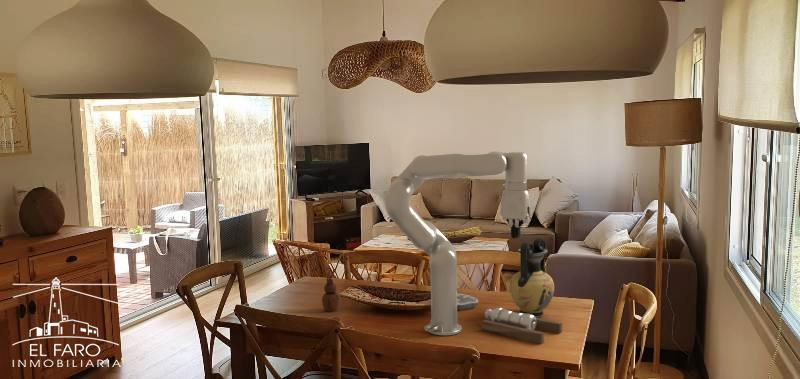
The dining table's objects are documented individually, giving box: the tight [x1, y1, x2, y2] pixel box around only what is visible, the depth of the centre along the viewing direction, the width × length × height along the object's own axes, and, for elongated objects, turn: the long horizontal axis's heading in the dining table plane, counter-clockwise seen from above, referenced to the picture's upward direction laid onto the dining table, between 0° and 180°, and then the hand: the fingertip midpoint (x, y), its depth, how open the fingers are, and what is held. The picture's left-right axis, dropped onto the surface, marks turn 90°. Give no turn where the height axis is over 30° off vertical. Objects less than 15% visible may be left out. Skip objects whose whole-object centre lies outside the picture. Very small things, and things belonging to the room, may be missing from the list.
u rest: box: [481, 317, 563, 345], centre depth 234 cm, size 16×24×4 cm, turn 49°
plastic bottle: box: [484, 307, 537, 331], centre depth 237 cm, size 6×7×20 cm
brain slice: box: [457, 293, 480, 311], centre depth 269 cm, size 20×17×3 cm
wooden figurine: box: [321, 275, 340, 313], centre depth 264 cm, size 7×6×15 cm
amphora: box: [509, 237, 555, 318], centre depth 253 cm, size 18×17×30 cm
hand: (515, 237), depth 232 cm, fingers closed
